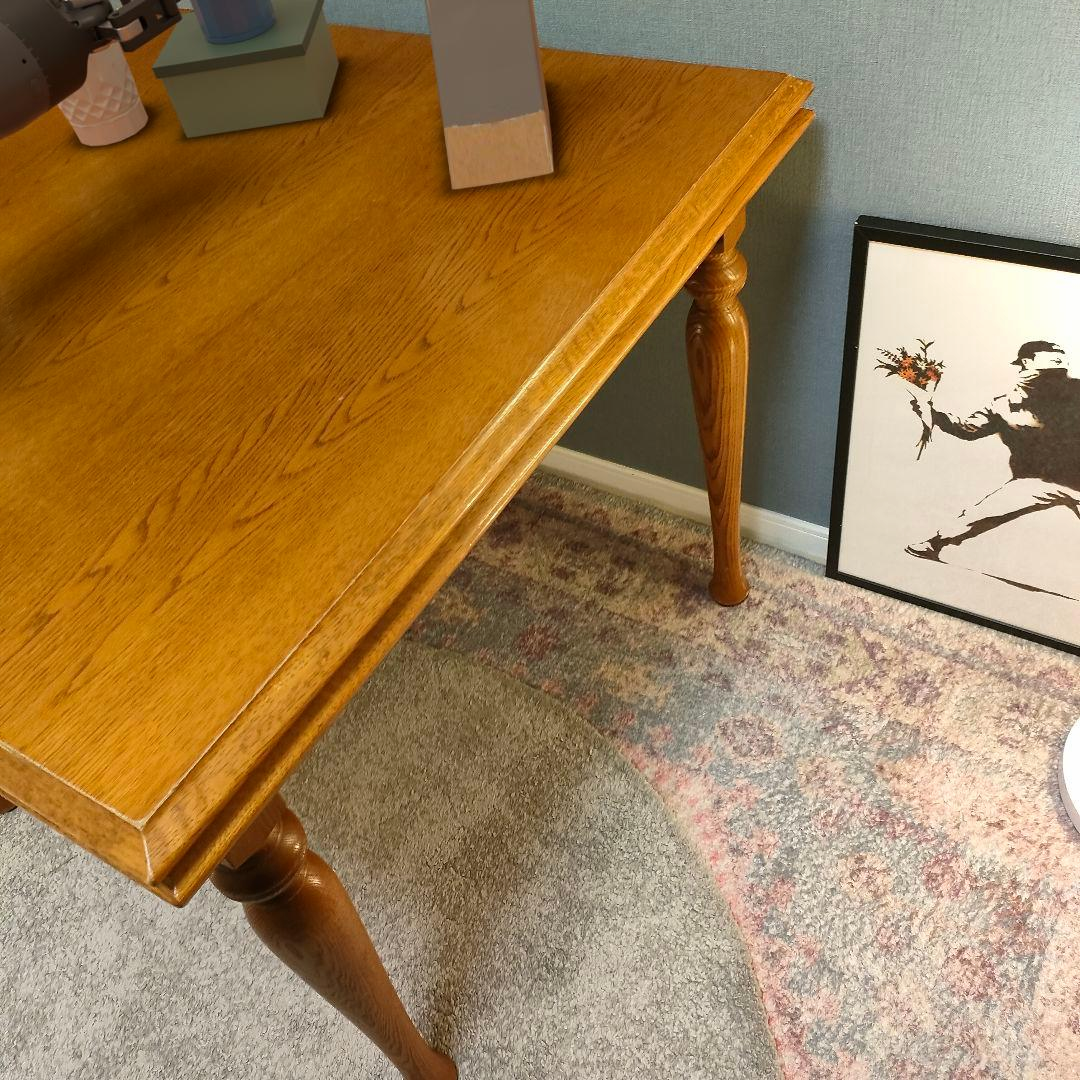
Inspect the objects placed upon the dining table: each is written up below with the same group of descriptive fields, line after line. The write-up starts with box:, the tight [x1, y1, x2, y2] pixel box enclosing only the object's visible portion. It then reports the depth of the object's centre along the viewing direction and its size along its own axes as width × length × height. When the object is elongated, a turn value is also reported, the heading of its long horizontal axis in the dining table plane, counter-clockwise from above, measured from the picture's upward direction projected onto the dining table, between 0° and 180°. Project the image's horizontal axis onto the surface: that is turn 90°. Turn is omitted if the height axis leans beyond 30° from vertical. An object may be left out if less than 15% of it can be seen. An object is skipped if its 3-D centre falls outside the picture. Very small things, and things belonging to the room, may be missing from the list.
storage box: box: [151, 0, 340, 139], centre depth 93 cm, size 14×12×7 cm
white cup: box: [56, 41, 149, 147], centre depth 92 cm, size 8×8×10 cm
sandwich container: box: [424, 0, 555, 190], centre depth 78 cm, size 9×15×15 cm, turn 3°
